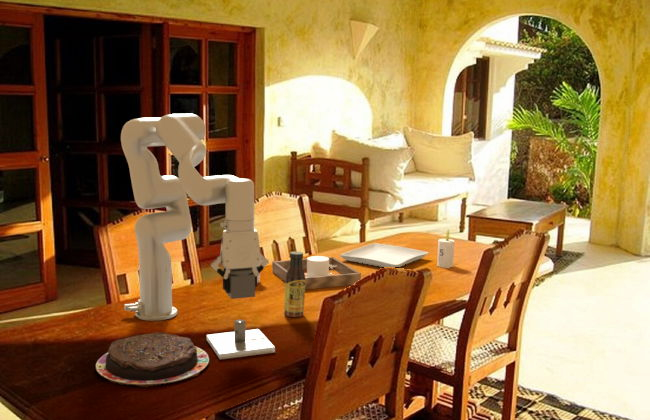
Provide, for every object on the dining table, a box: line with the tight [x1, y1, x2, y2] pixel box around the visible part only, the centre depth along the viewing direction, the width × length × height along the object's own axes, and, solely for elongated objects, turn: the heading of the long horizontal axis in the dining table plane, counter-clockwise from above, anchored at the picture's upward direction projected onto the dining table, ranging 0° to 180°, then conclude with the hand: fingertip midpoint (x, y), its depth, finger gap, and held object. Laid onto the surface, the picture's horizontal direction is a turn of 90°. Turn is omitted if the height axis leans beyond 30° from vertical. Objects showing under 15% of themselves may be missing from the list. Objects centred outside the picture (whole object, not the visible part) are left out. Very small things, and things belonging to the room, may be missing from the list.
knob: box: [226, 268, 256, 300], centre depth 189 cm, size 7×7×8 cm
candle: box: [436, 229, 455, 269], centre depth 282 cm, size 6×6×15 cm
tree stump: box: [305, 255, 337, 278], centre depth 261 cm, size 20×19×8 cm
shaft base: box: [206, 319, 276, 360], centre depth 192 cm, size 15×15×7 cm
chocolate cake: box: [95, 331, 210, 388], centre depth 178 cm, size 28×28×7 cm
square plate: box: [339, 242, 430, 268], centre depth 290 cm, size 27×27×4 cm
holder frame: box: [271, 256, 362, 290], centre depth 262 cm, size 25×26×4 cm
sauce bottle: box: [283, 251, 306, 318], centre depth 217 cm, size 7×6×20 cm
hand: (240, 290), depth 190 cm, fingers closed on knob, 6 cm apart
